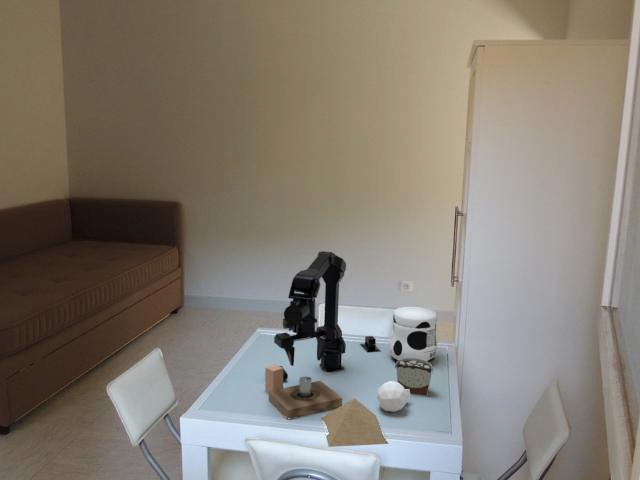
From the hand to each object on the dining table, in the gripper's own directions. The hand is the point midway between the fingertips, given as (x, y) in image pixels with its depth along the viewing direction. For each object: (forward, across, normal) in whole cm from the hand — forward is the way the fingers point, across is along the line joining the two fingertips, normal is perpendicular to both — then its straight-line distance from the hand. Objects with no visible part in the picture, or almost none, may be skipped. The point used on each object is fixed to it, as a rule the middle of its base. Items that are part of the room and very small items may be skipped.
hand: (305, 362), depth 180 cm
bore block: (+11, +2, +4) cm, 12 cm away
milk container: (+13, -50, -11) cm, 53 cm away
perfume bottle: (+12, -21, +19) cm, 31 cm away
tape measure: (+12, +2, -17) cm, 21 cm away
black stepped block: (+13, -43, -28) cm, 53 cm away
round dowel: (+11, +2, +4) cm, 12 cm away
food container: (+12, -34, +11) cm, 38 cm away
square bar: (+12, +7, -8) cm, 16 cm away
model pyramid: (+12, -3, +24) cm, 27 cm away
